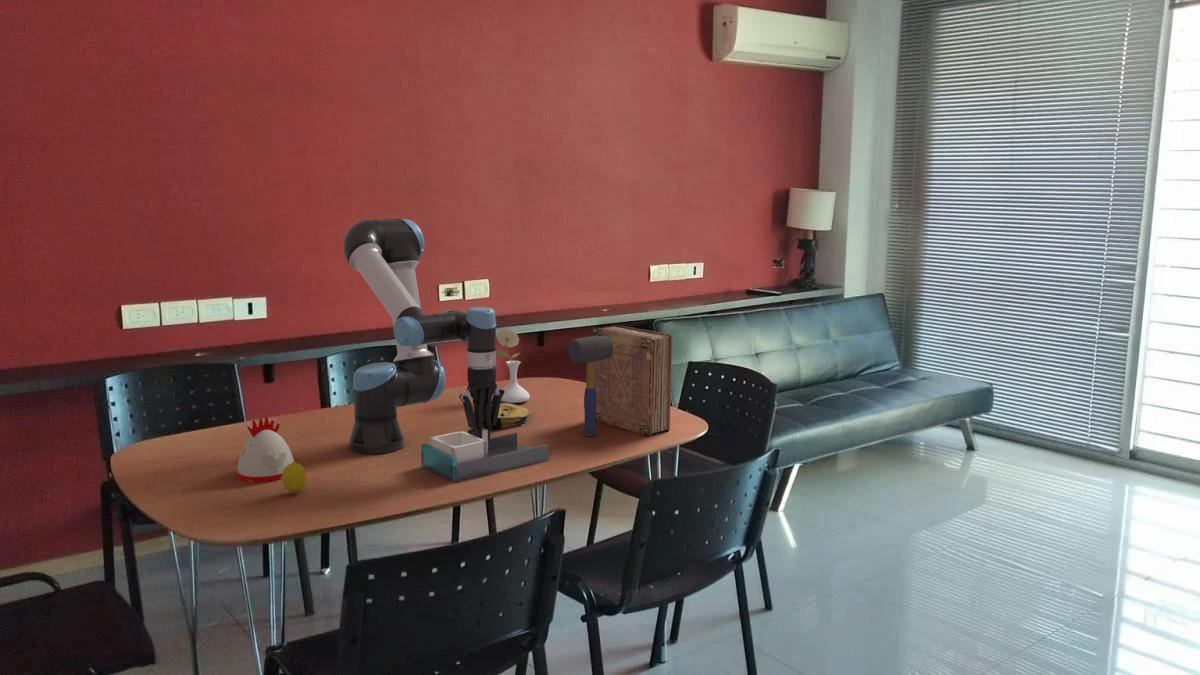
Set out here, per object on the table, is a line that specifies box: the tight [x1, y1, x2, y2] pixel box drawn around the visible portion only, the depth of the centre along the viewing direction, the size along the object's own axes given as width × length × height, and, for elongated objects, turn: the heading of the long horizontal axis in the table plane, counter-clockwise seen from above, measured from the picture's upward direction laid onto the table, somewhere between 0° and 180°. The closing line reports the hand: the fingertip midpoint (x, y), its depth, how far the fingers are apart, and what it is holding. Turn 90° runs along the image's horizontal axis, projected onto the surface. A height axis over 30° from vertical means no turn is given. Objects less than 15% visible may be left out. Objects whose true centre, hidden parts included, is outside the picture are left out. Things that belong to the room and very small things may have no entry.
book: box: [591, 324, 673, 437], centre depth 278 cm, size 25×9×30 cm, turn 44°
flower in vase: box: [496, 328, 531, 404], centre depth 307 cm, size 13×11×25 cm
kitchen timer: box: [236, 416, 295, 484], centre depth 230 cm, size 14×14×15 cm
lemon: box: [281, 461, 308, 495], centre depth 217 cm, size 6×6×8 cm
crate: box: [429, 430, 487, 464], centre depth 236 cm, size 10×12×7 cm
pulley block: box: [467, 401, 537, 436], centre depth 278 cm, size 14×6×30 cm
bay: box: [420, 431, 549, 483], centre depth 242 cm, size 30×16×6 cm, turn 130°
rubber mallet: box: [567, 336, 613, 437], centre depth 267 cm, size 12×8×30 cm, turn 124°
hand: (482, 452), depth 241 cm, fingers closed
